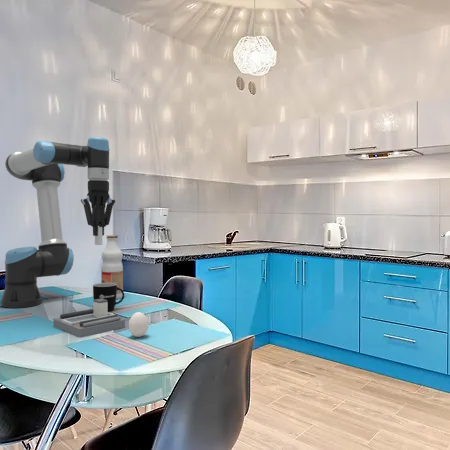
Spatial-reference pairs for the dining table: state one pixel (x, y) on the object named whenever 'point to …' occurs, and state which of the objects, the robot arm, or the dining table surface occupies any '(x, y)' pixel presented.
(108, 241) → the fruit juice
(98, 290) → the mug
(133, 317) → the egg
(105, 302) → the light grey boxy piece
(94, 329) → the grey compartment tray
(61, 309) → the dining table surface
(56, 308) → the dining table surface
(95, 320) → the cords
